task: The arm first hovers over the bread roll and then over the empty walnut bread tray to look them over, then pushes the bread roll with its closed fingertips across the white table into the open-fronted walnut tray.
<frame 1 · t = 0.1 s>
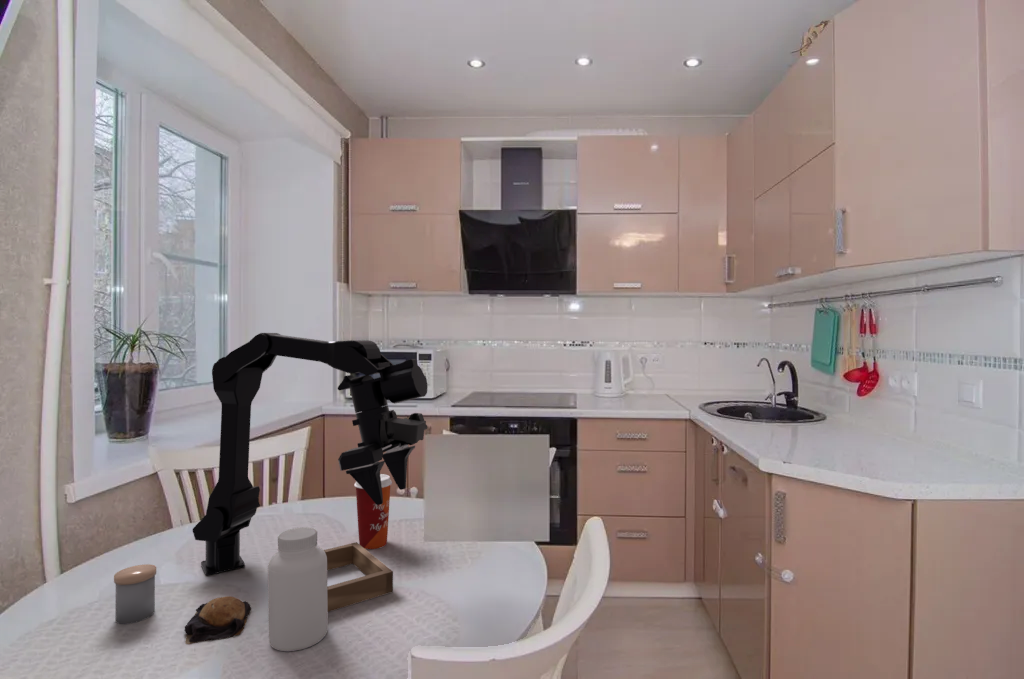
hand: (391, 496, 93), 15 cm above the table, tool pointing down, fingers open, 9 cm apart
bread roll: (218, 626, 81), on the table
grey sugar pot: (135, 615, 83), on the table
pill bottle: (298, 638, 77), on the table
bread tray: (328, 587, 92), on the table
paper cup: (373, 545, 112), on the table
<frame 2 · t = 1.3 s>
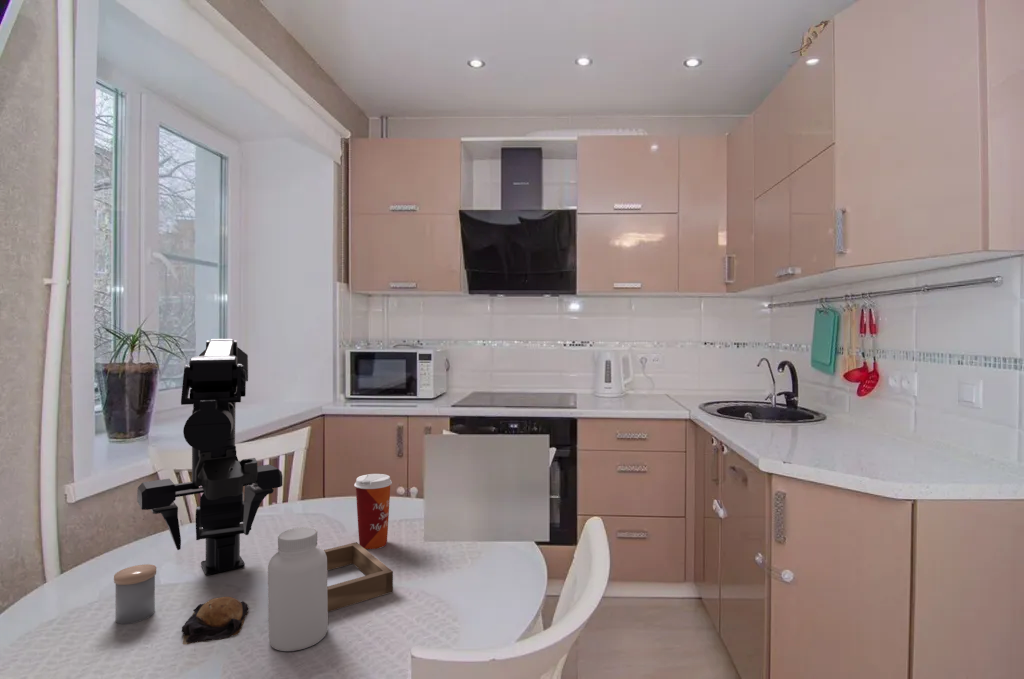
hand: (213, 541, 81), 12 cm above the table, tool pointing down, fingers open, 9 cm apart
nothing on the table moved.
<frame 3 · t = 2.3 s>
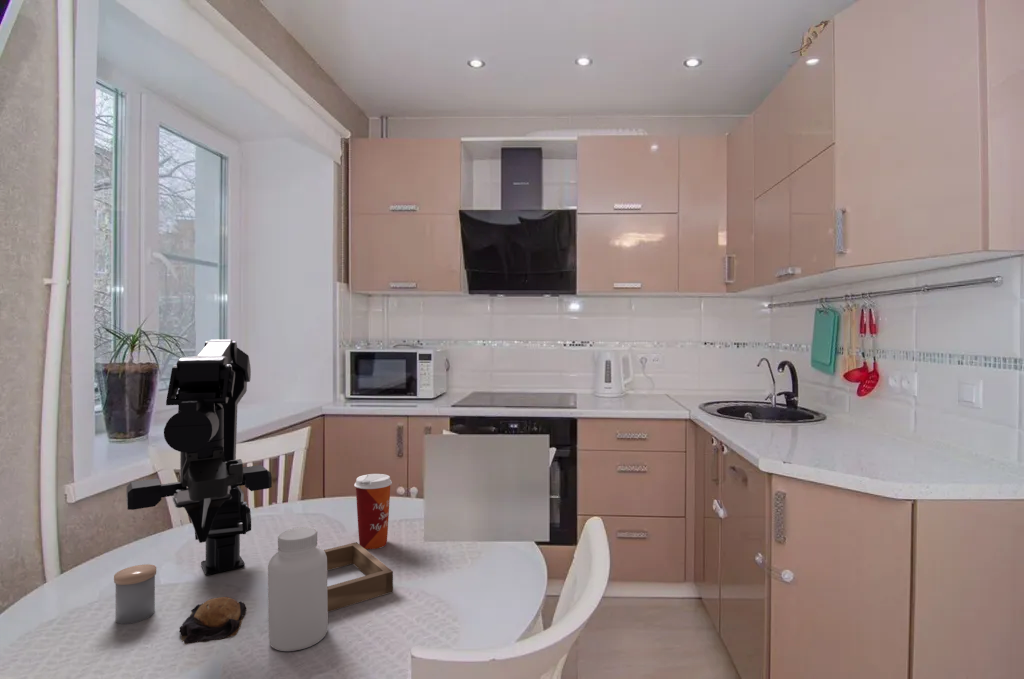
hand: (202, 541, 81), 12 cm above the table, tool pointing down, fingers closed
nothing on the table moved.
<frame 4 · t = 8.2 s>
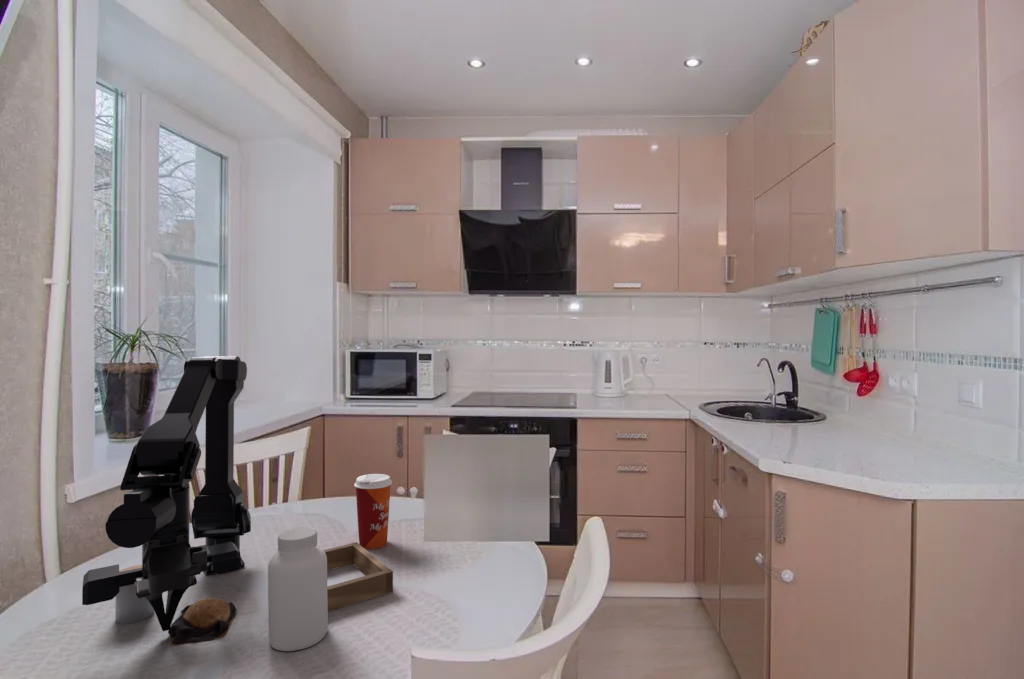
hand: (165, 629, 77), 1 cm above the table, tool pointing down, fingers closed
bread roll: (203, 628, 80), on the table, touching gripper
everything else where it was.
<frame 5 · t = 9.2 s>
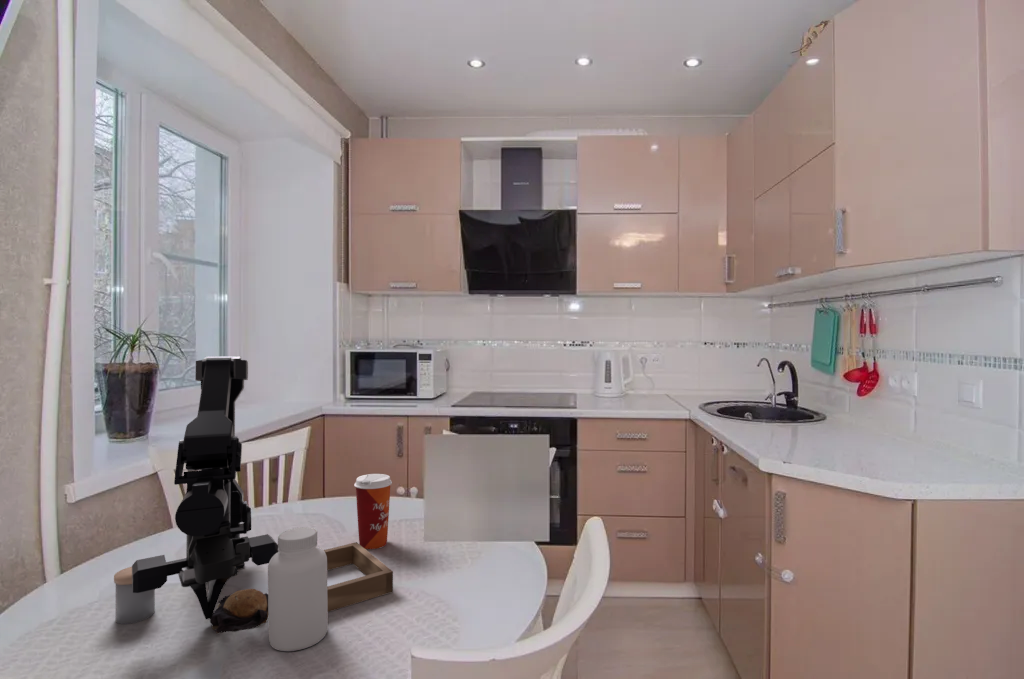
hand: (208, 617, 80), 1 cm above the table, tool pointing down, fingers closed
bread roll: (242, 617, 84), on the table, touching gripper
everything else where it was.
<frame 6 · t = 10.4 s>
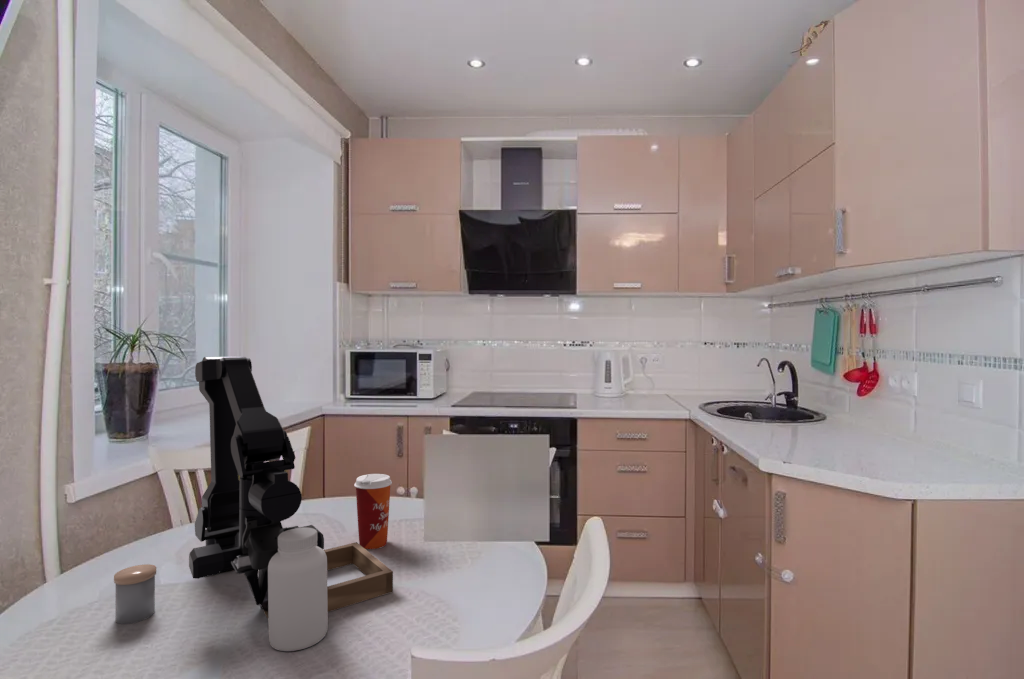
hand: (259, 603, 84), 1 cm above the table, tool pointing down, fingers closed
bread roll: (287, 603, 88), on the table
everything else where it was.
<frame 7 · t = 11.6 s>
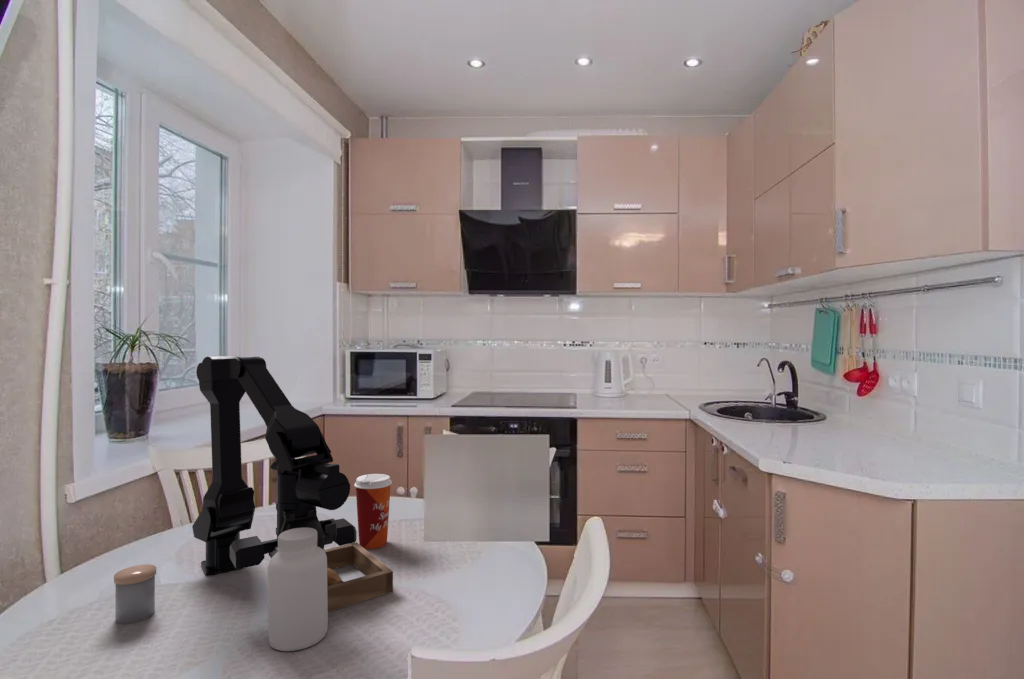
hand: (295, 593, 88), 1 cm above the table, tool pointing down, fingers closed
bread roll: (319, 592, 92), on the table, touching gripper
everything else where it was.
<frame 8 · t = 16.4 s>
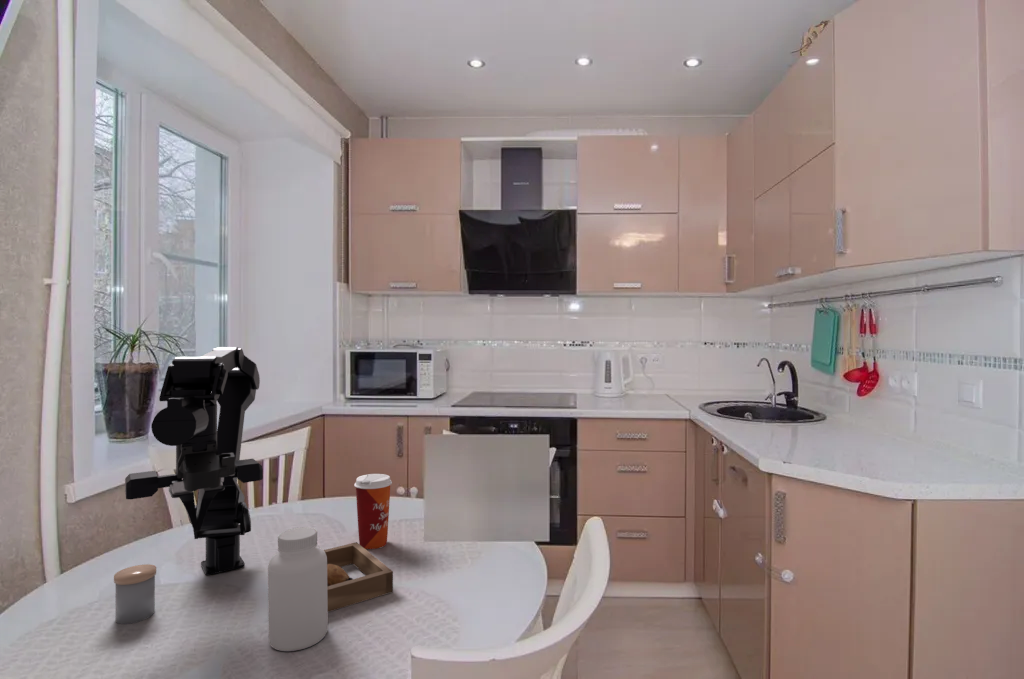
hand: (196, 530, 86), 12 cm above the table, tool pointing down, fingers closed
bread roll: (326, 589, 93), on the table
everything else where it was.
at the end: bread roll inside the target area on the bread tray (1.2 cm from its centre), point -0.8 cm above the bread tray's base; bread roll moved 17.1 cm from its start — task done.
